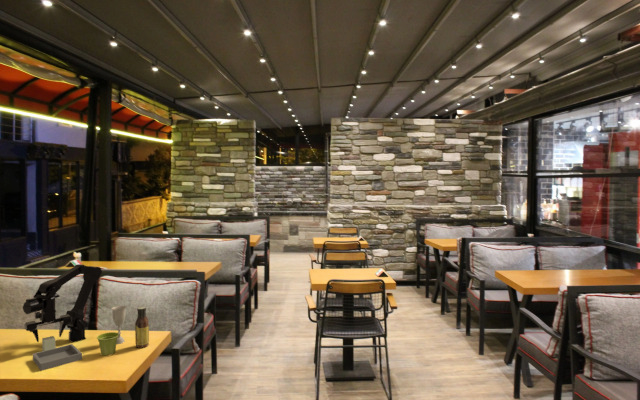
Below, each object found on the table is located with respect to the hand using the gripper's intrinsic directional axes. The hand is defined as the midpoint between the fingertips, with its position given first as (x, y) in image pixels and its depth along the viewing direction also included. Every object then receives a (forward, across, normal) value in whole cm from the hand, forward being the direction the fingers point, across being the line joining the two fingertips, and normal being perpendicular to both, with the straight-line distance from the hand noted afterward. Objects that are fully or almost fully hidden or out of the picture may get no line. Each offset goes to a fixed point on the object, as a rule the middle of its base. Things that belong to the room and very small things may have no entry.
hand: (49, 339), depth 195 cm
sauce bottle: (+6, -34, +28) cm, 44 cm away
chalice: (+6, -28, +14) cm, 32 cm away
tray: (+5, 0, +16) cm, 17 cm away
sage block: (+5, 0, 0) cm, 5 cm away
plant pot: (+6, -19, +25) cm, 32 cm away
